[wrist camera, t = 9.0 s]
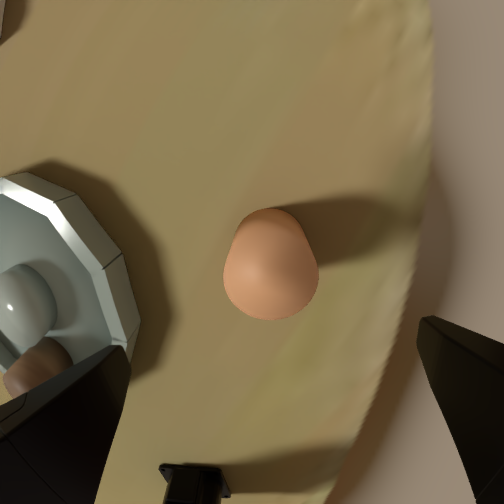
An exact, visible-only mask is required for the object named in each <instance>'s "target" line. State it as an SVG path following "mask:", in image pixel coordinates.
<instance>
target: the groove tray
mask: <svg viewBox="0 0 504 504" xmlns="http://www.w3.org/2000/svg"><path fill="white" fill-rule="evenodd" d="M121 253H122V252H121V251H120V249H119V248H118V247H117V246H116V244H115V243H114V242H113V241H112V239H111V238H110V237H109V236H108V234H107V233H106V232H105V230H104V229H103V228H102V227H101V225H100V224H99V223H98V221H97V220H96V219H95V217H94V216H93V215H92V213H91V212H90V211H89V209H88V208H87V207H86V205H85V204H84V203H83V201H82V200H81V198H80V197H79V196H78V195H76V193H74V192H72V191H69V190H67V189H65V188H62V187H60V186H58V185H56V184H53V183H51V182H49V181H46V180H44V179H42V178H40V177H37V176H35V175H33V174H31V173H28V172H24V173H19V174H14V175H10V176H6V177H1V178H0V371H1V372H2V373H4V374H5V373H6V371H7V370H8V369H9V368H10V367H11V366H12V365H13V364H14V363H15V362H16V361H17V360H18V359H19V358H20V357H21V355H22V354H23V353H24V352H25V351H26V350H27V349H28V348H29V347H33V346H35V345H36V344H37V343H38V342H39V341H40V340H41V339H42V338H43V337H44V336H45V337H50V338H52V339H54V340H56V341H57V342H58V343H60V344H61V345H62V346H63V347H64V348H65V349H66V350H67V352H68V353H69V355H70V356H71V358H72V361H73V364H74V365H75V364H77V363H79V362H80V361H82V360H84V359H86V358H87V357H89V356H91V355H93V354H94V353H96V352H98V351H100V350H101V349H103V348H105V347H107V346H108V345H121V346H123V348H124V350H125V352H126V355H127V357H128V360H129V363H130V362H131V358H132V354H133V350H134V347H135V343H136V339H137V335H138V331H139V328H140V324H141V318H140V315H139V312H138V308H137V305H136V302H135V298H134V295H133V291H132V288H131V284H130V280H129V277H128V273H127V269H126V265H125V261H124V257H123V254H121Z"/></svg>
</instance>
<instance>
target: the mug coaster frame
mask: <svg viewBox="0 0 504 504" xmlns="http://www.w3.org/2000/svg"><path fill="white" fill-rule="evenodd" d="M5 1H6V0H0V38H1V30H2V22H3V14H4V7H5Z"/></svg>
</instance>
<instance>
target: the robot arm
mask: <svg viewBox="0 0 504 504" xmlns="http://www.w3.org/2000/svg"><path fill="white" fill-rule="evenodd" d="M416 343H417V349H418V352H419V354H420V357H421V360H422V363H423V366H424V369H425V372H426V375H427V378H428V381H429V384H430V387H431V389H432V391H433V394H434V396H435V398H436V400H437V402H438V405H439V407H440V409H441V411H442V414H443V416H444V418H445V420H446V423H447V425H448V428H449V430H450V432H451V435H452V437H453V440H454V442H455V445H456V447H457V450H458V452H459V455H460V458H461V460H462V462H463V465H464V468H465V471H466V474H467V476H468V479H469V482H470V485H471V488H472V491H473V494H474V497H475V499H476V504H504V344H503V343H500V342H498V341H495V340H493V339H491V338H488V337H486V336H483V335H481V334H478V333H476V332H473V331H471V330H468V329H466V328H464V327H461V326H459V325H456V324H454V323H451V322H449V321H446V320H444V319H441V318H439V317H436V316H433V315H431V316H427V317H422V318H421V319H420V322H419V328H418V334H417V342H416ZM130 376H131V365H130V363H129V360H128V357H127V355H126V352H125V350H124V348H123V346H121V345H108V346H107V347H105V348H103V349H101V350H100V351H98V352H96V353H94V354H93V355H91V356H89V357H87V358H86V359H84V360H82V361H80V362H79V363H77V364H75V365H73V366H72V367H70V368H68V369H66V370H64V371H63V372H61V373H59V374H57V375H56V376H54V377H52V378H50V379H48V380H47V381H45V382H43V383H41V384H40V385H38V386H36V387H34V388H32V389H31V390H29V391H28V392H25V393H23V394H22V395H20V396H18V397H16V398H14V399H12V400H10V401H9V402H7V403H5V404H3V405H1V406H0V504H94V502H95V499H96V495H97V491H98V488H99V484H100V481H101V478H102V474H103V471H104V467H105V464H106V461H107V458H108V454H109V451H110V448H111V445H112V442H113V439H114V436H115V432H116V429H117V426H118V423H119V420H120V417H121V414H122V411H123V407H124V402H125V398H126V393H127V389H128V385H129V380H130ZM159 471H160V472H161V474H162V475H163V477H164V478H165V480H166V481H167V483H168V485H167V488H166V492H165V496H164V500H163V504H221V498H230V497H231V493H230V490H229V488H228V486H227V483H226V481H225V478H224V476H223V474H222V471H221V470H220V469H218V468H198V467H182V466H170V465H160V466H159Z"/></svg>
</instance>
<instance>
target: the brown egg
mask: <svg viewBox="0 0 504 504" xmlns="http://www.w3.org/2000/svg"><path fill="white" fill-rule="evenodd" d="M223 279H224V286H225V290H226V292H227V294H228V296H229V298H230V300H231V301H232V302H233V304H234V305H235V306H236V307H237V308H239V309H240V310H241V311H243V312H244V313H246V314H248V315H250V316H252V317H255V318H258V319H264V320H277V319H283V318H286V317H289V316H292V315H294V314H295V313H297V312H299V311H300V310H302V309H303V308H304V307H305V306H306V305H307V304H308V303H309V302H310V300H311V299H312V297H313V296H314V294H315V291H316V289H317V285H318V280H319V273H318V266H317V263H316V260H315V258H314V255H313V253H312V251H311V248H310V246H309V244H308V241H307V239H306V237H305V234H304V232H303V230H302V227H301V226H300V224H299V223H298V221H297V220H296V219H295V218H294V217H293V216H291V215H290V214H289V213H287V212H285V211H282V210H279V209H273V208H266V209H261V210H257V211H255V212H253V213H251V214H249V215H248V216H247V217H246V218H244V220H243V221H242V222H241V223H240V225H239V226H238V228H237V231H236V233H235V236H234V239H233V242H232V245H231V248H230V251H229V255H228V258H227V261H226V264H225V267H224V274H223Z"/></svg>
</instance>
